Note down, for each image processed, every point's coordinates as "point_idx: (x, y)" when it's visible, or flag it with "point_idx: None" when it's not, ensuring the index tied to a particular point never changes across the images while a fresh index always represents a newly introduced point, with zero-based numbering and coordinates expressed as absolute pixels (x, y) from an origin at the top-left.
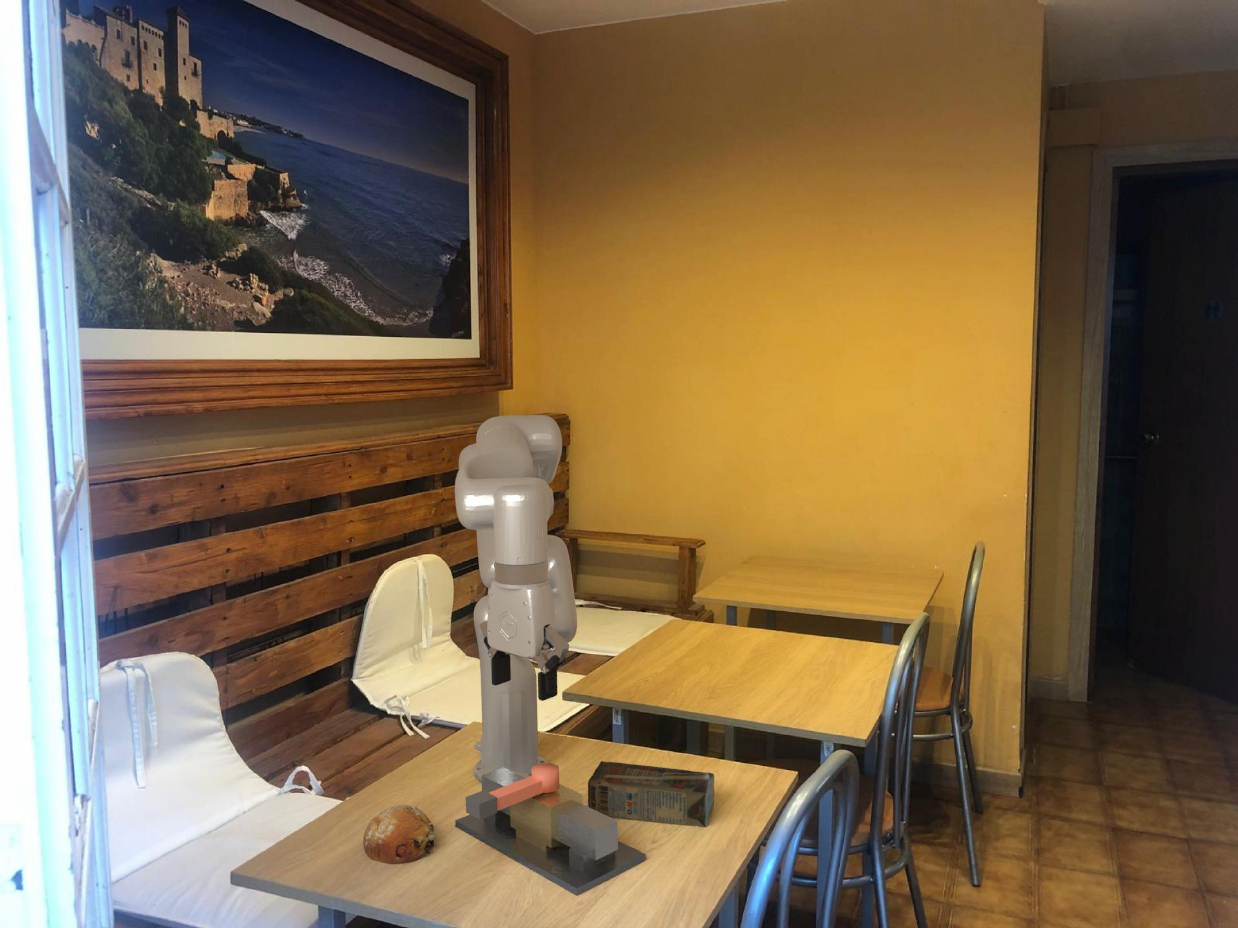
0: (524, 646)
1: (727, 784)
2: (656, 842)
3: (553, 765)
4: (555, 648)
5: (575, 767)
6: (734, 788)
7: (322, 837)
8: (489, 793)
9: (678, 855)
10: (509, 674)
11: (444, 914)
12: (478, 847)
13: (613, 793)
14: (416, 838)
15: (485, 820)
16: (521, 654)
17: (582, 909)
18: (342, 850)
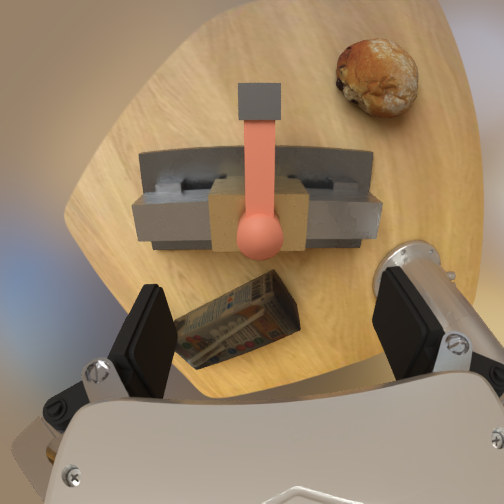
0: (108, 459)
1: (225, 372)
2: (177, 276)
3: (260, 256)
4: (43, 450)
5: (359, 320)
6: (216, 370)
7: (443, 54)
8: (270, 126)
9: (146, 272)
10: (379, 332)
11: (209, 27)
12: (309, 135)
13: (245, 298)
14: (346, 67)
15: (345, 175)
16: (152, 411)
17: (119, 142)
18: (410, 43)
